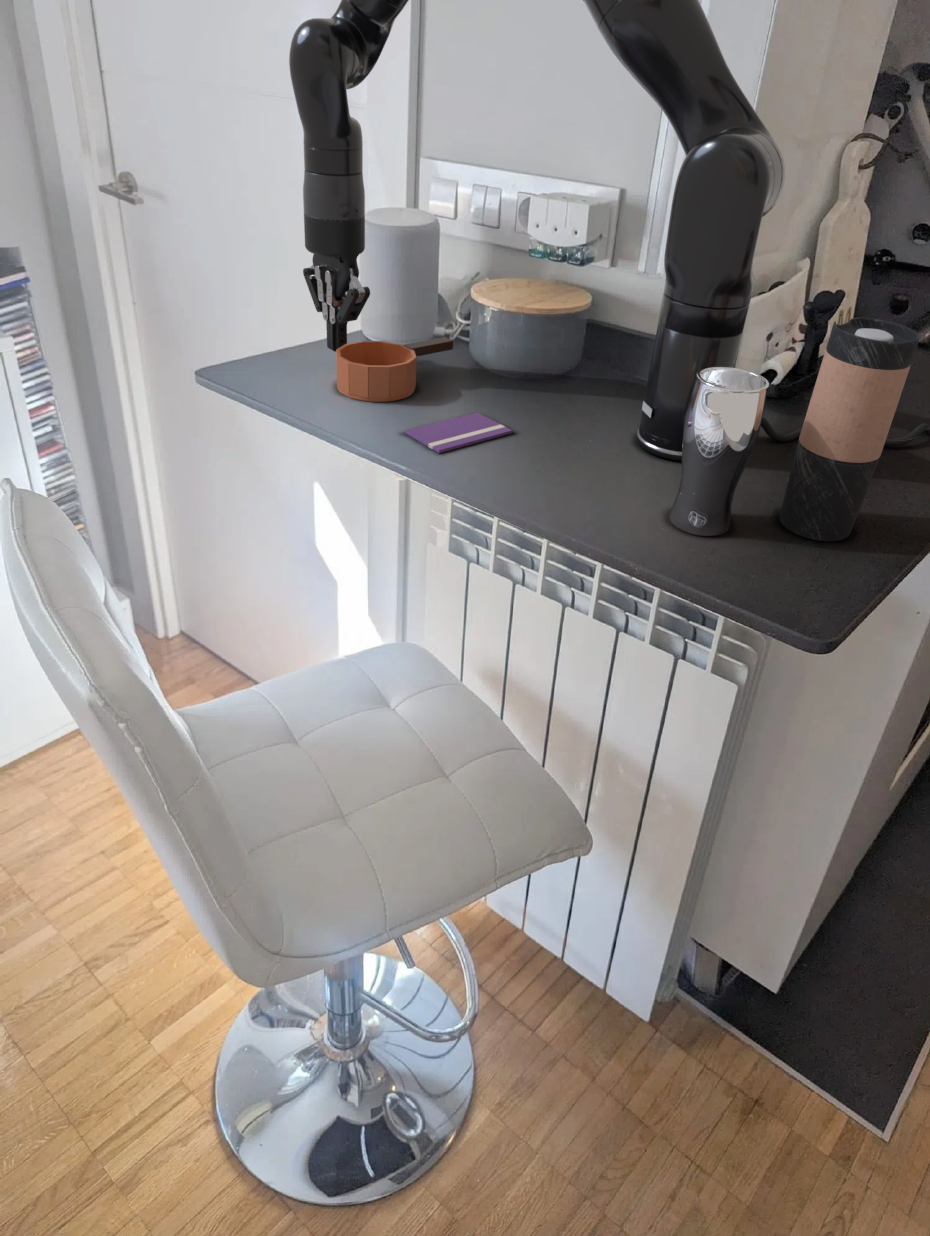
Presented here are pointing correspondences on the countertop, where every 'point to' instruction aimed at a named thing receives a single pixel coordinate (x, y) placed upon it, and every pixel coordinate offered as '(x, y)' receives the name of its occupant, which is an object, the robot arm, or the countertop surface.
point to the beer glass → (717, 446)
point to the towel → (458, 432)
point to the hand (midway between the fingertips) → (336, 349)
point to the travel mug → (846, 426)
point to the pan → (382, 368)
